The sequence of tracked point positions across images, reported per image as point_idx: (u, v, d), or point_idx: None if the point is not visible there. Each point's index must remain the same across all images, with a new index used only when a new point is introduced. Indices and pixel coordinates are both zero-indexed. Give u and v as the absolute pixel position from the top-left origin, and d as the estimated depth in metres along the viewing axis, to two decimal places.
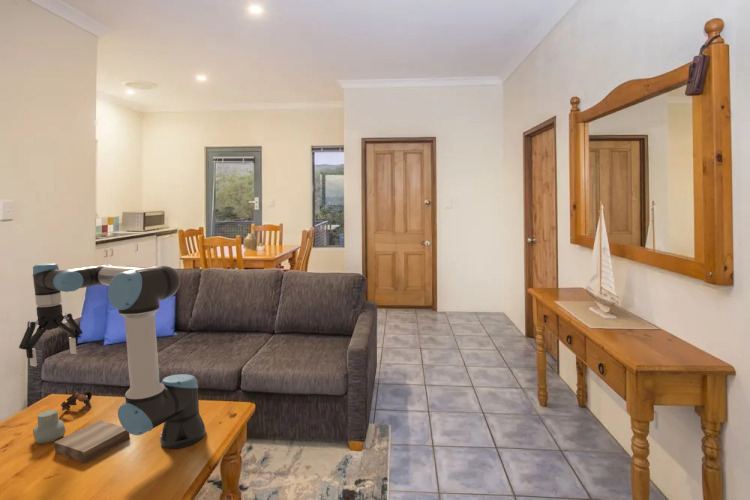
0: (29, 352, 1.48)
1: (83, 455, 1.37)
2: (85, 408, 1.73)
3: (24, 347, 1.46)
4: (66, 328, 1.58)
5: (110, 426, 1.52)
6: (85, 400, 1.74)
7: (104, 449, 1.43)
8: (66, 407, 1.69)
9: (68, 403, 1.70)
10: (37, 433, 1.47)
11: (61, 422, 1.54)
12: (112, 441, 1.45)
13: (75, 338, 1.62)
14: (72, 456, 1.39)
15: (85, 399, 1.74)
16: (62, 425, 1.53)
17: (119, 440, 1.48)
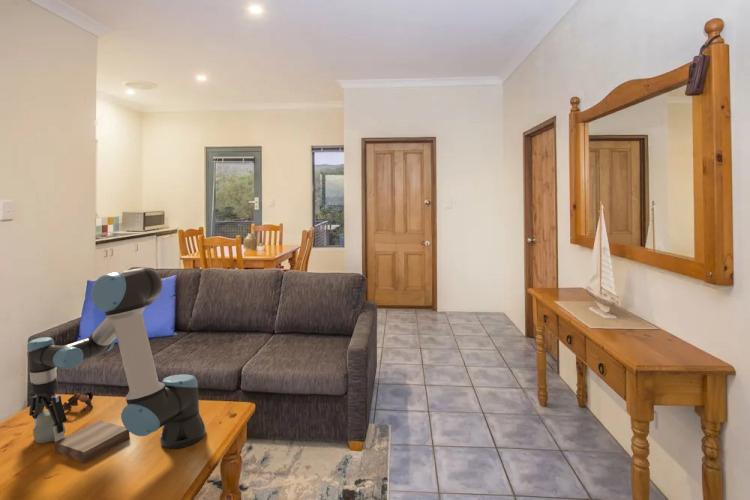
0: None
1: (83, 455, 1.37)
2: (87, 408, 1.72)
3: (29, 414, 1.54)
4: (49, 411, 1.48)
5: (110, 426, 1.52)
6: (86, 400, 1.73)
7: (104, 449, 1.43)
8: (67, 408, 1.69)
9: (69, 404, 1.69)
10: (37, 433, 1.47)
11: None
12: (112, 441, 1.45)
13: (57, 426, 1.48)
14: (72, 456, 1.39)
15: (86, 399, 1.74)
16: None
17: (119, 440, 1.48)
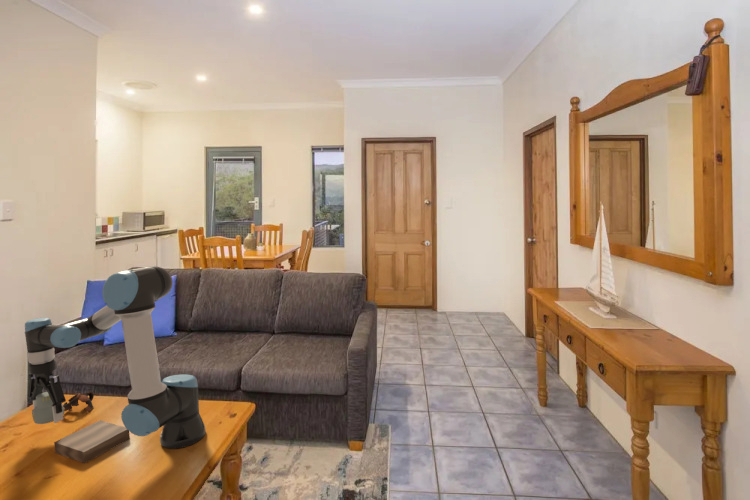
0: None
1: (83, 455, 1.37)
2: (87, 409, 1.72)
3: (28, 395, 1.53)
4: (48, 391, 1.48)
5: (110, 426, 1.52)
6: (87, 401, 1.73)
7: (104, 449, 1.43)
8: (68, 408, 1.69)
9: (70, 404, 1.69)
10: (36, 413, 1.46)
11: None
12: (112, 441, 1.45)
13: (56, 406, 1.48)
14: (72, 456, 1.39)
15: (87, 400, 1.73)
16: None
17: (119, 440, 1.48)
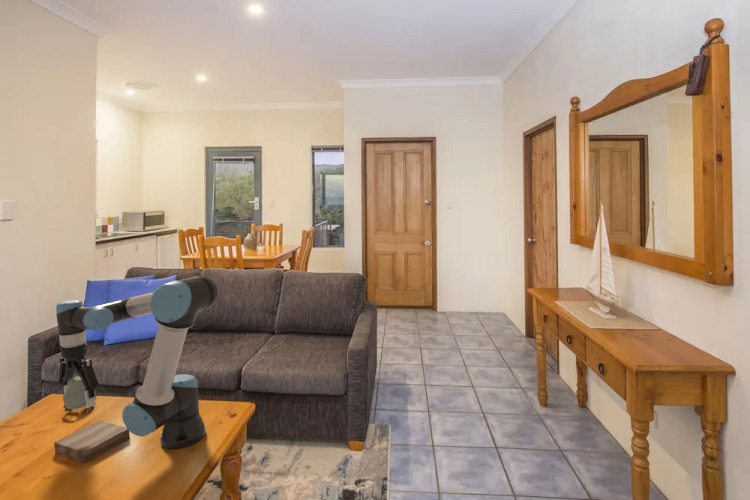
0: (64, 387, 1.48)
1: (83, 455, 1.37)
2: (88, 409, 1.72)
3: (59, 381, 1.48)
4: (80, 376, 1.43)
5: (110, 426, 1.52)
6: None
7: (104, 449, 1.43)
8: None
9: None
10: (68, 398, 1.42)
11: None
12: (112, 441, 1.45)
13: (88, 391, 1.43)
14: (72, 456, 1.39)
15: None
16: None
17: (119, 440, 1.48)
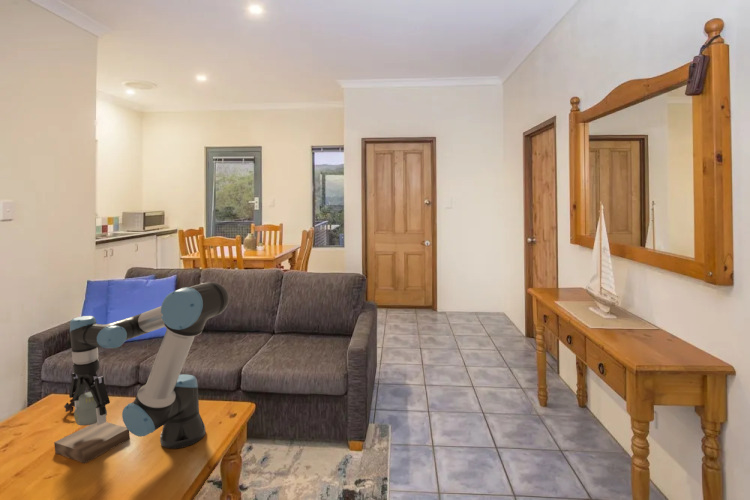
0: (75, 402, 1.48)
1: (83, 455, 1.37)
2: None
3: (69, 396, 1.48)
4: (92, 392, 1.43)
5: (110, 426, 1.52)
6: None
7: (104, 449, 1.43)
8: (70, 408, 1.68)
9: (72, 404, 1.68)
10: (79, 415, 1.41)
11: None
12: (112, 441, 1.45)
13: (100, 408, 1.43)
14: (72, 456, 1.39)
15: None
16: None
17: (119, 440, 1.48)
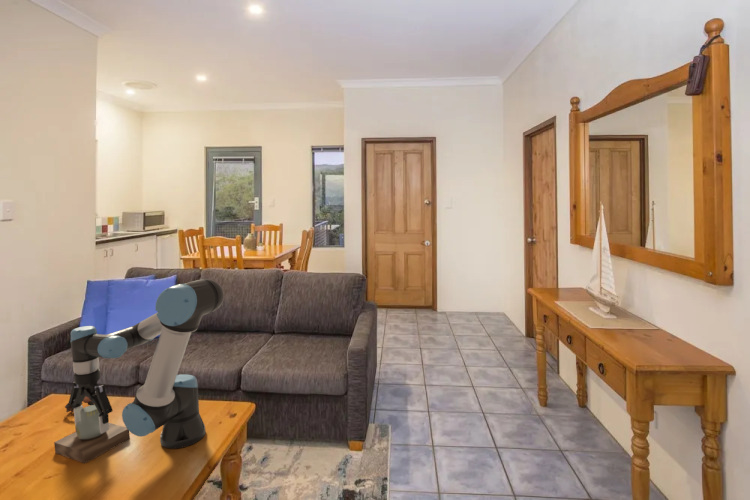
0: (74, 409, 1.49)
1: (83, 455, 1.37)
2: None
3: (69, 403, 1.48)
4: (94, 402, 1.43)
5: (110, 426, 1.52)
6: (90, 401, 1.72)
7: (104, 449, 1.43)
8: (71, 409, 1.68)
9: None
10: (81, 429, 1.42)
11: None
12: (112, 441, 1.45)
13: (102, 416, 1.42)
14: (72, 456, 1.39)
15: (90, 400, 1.73)
16: None
17: (119, 440, 1.48)
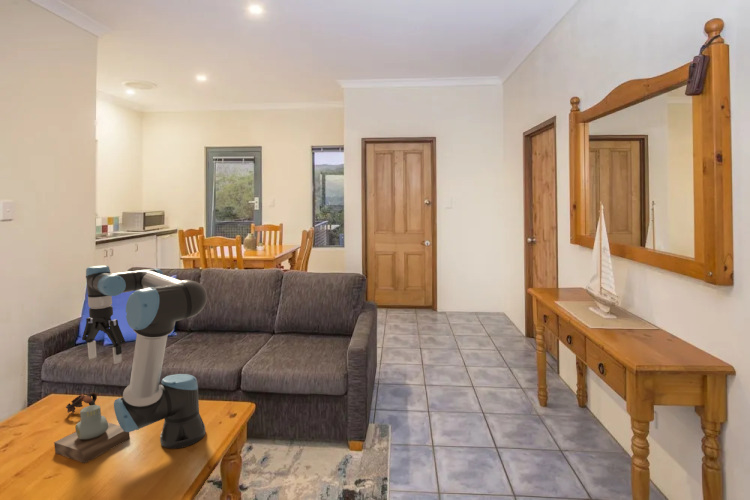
0: None
1: (83, 455, 1.37)
2: None
3: (82, 338, 1.60)
4: (108, 334, 1.55)
5: (110, 426, 1.52)
6: (91, 402, 1.72)
7: (104, 449, 1.43)
8: (72, 409, 1.67)
9: (74, 405, 1.68)
10: (81, 429, 1.42)
11: (104, 418, 1.48)
12: (112, 441, 1.45)
13: (116, 348, 1.54)
14: (72, 456, 1.39)
15: (91, 401, 1.72)
16: (105, 421, 1.47)
17: (119, 440, 1.48)
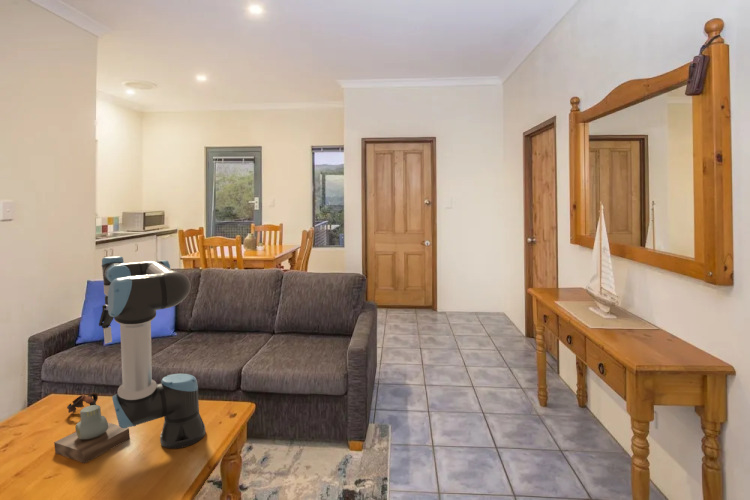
0: (103, 330, 1.72)
1: (83, 455, 1.37)
2: None
3: (99, 324, 1.72)
4: None
5: (110, 426, 1.52)
6: (92, 402, 1.72)
7: (104, 449, 1.43)
8: (73, 409, 1.67)
9: (75, 405, 1.68)
10: (81, 429, 1.42)
11: (104, 418, 1.48)
12: (112, 441, 1.45)
13: None
14: (72, 456, 1.39)
15: (92, 401, 1.72)
16: (105, 421, 1.47)
17: (119, 440, 1.48)
